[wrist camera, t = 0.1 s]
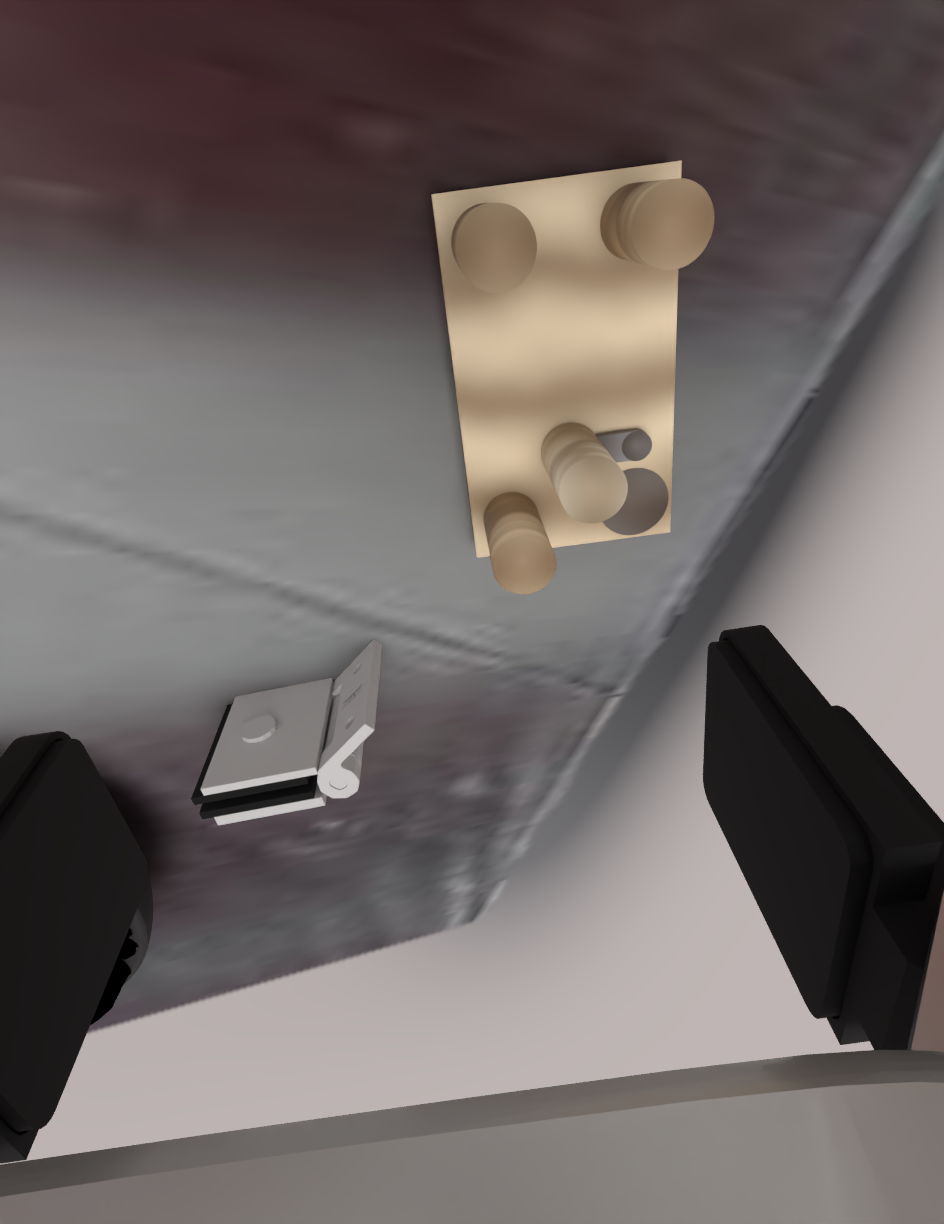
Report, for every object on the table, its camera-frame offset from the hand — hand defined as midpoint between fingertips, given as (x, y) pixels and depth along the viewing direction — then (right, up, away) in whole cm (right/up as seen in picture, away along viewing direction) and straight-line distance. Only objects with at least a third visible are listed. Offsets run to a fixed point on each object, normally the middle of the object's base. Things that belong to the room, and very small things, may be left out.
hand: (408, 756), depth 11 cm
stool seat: (+6, +17, +33) cm, 38 cm away
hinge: (-12, -4, +44) cm, 46 cm away
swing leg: (+9, +12, +33) cm, 36 cm away
